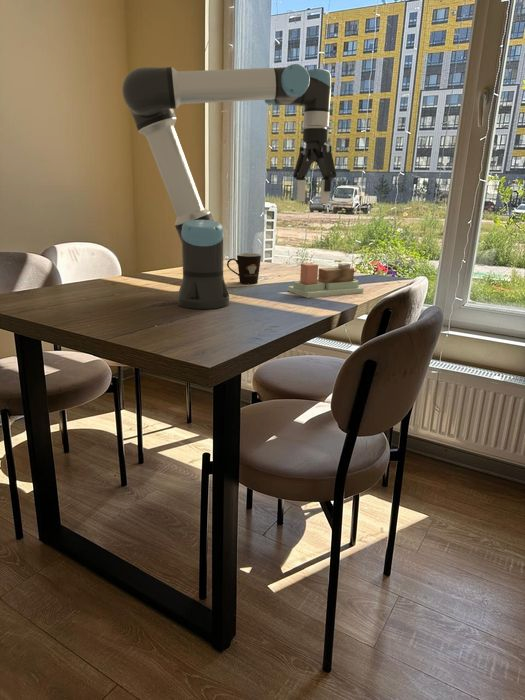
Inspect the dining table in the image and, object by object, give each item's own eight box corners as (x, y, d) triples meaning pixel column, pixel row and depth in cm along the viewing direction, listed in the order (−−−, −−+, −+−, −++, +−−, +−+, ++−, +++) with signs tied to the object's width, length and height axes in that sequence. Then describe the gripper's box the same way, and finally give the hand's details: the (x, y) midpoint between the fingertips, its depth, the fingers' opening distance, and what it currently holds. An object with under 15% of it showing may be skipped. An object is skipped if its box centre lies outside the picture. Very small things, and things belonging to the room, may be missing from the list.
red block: (306, 290, 166) (307, 265, 164) (299, 288, 169) (300, 263, 167) (316, 289, 168) (318, 264, 165) (310, 287, 171) (311, 263, 169)
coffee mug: (261, 281, 189) (262, 253, 186) (259, 285, 180) (259, 256, 177) (230, 279, 190) (230, 252, 187) (226, 284, 181) (226, 255, 178)
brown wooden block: (324, 288, 169) (326, 265, 167) (317, 286, 173) (319, 263, 171) (352, 286, 174) (354, 264, 171) (345, 284, 178) (347, 262, 175)
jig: (307, 297, 162) (308, 286, 161) (288, 290, 172) (288, 280, 171) (363, 292, 172) (364, 282, 171) (342, 286, 182) (343, 276, 181)
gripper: (351, 125, 145) (346, 204, 151) (304, 132, 166) (301, 200, 172) (329, 123, 141) (325, 204, 148) (284, 130, 162) (281, 200, 169)
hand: (312, 202), depth 160 cm, fingers open, 13 cm apart
